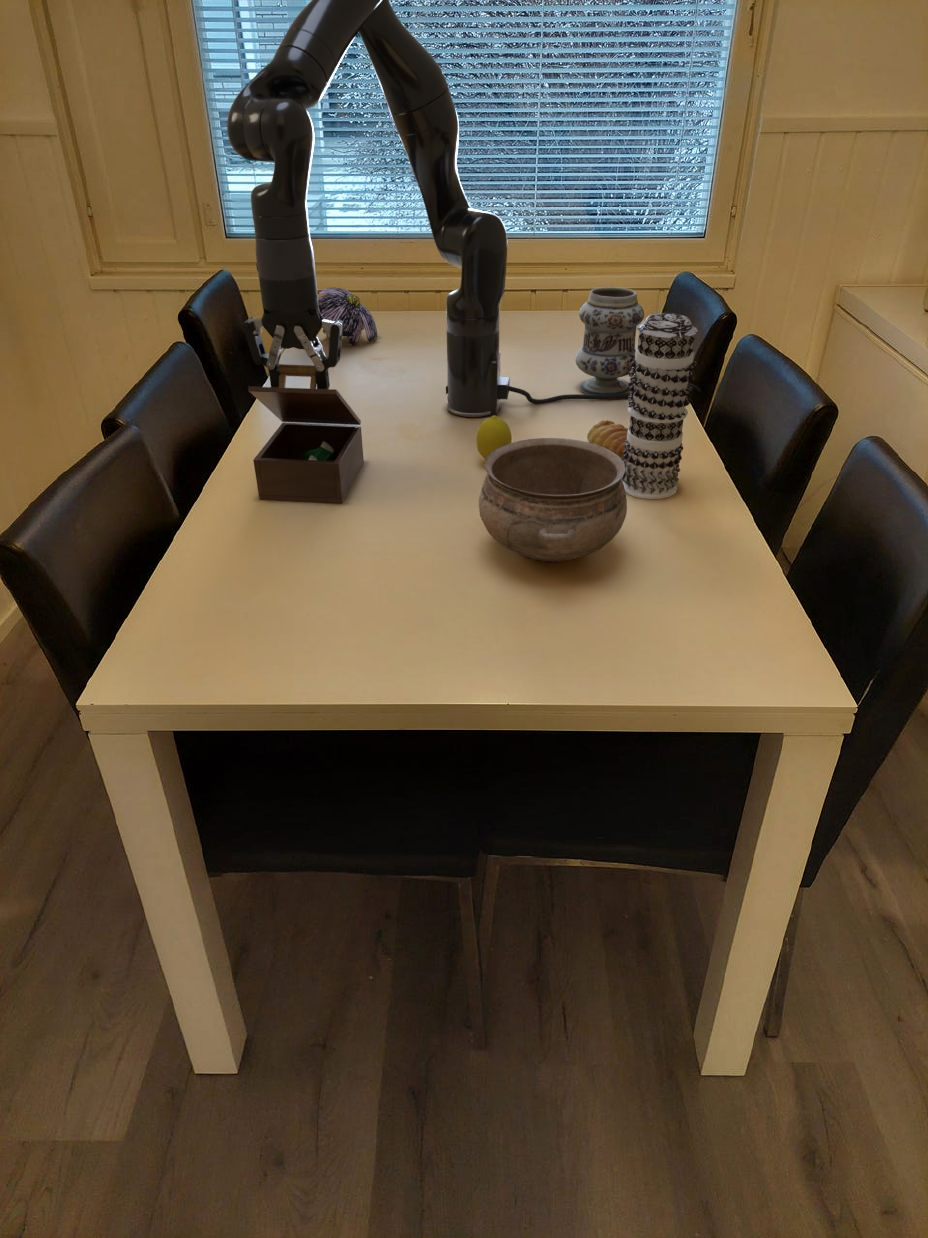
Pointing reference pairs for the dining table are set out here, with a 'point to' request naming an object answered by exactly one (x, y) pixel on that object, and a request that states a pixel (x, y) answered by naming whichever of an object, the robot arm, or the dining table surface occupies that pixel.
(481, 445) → the lemon
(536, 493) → the cooking pot
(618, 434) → the pastry
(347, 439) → the case
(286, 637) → the dining table surface
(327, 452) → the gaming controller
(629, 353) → the apothecary jar
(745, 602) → the dining table surface
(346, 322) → the decorative flower
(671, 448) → the decorative candle
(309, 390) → the case cover
